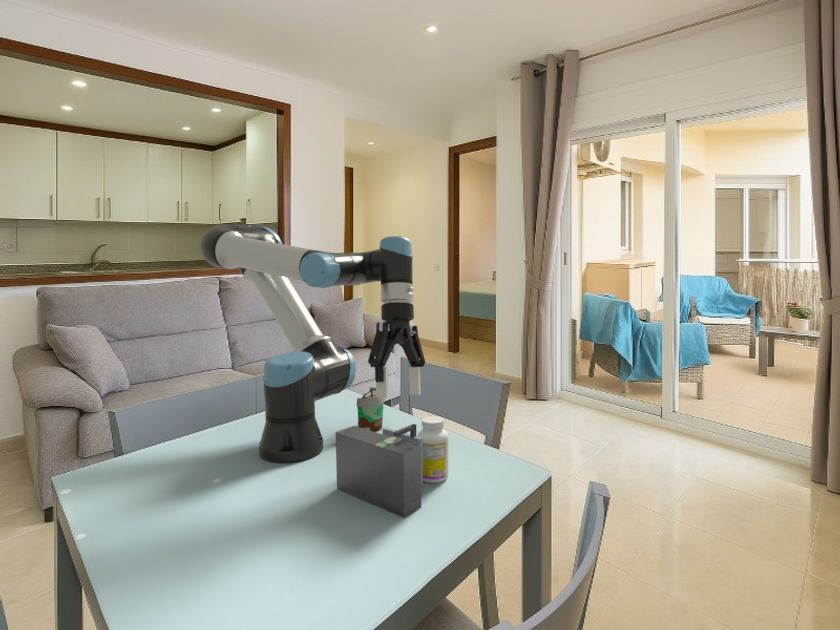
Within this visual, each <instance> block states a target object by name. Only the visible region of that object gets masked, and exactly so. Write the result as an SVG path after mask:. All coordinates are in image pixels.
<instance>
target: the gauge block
mask: <svg viewBox="0 0 840 630" xmlns="http://www.w3.org/2000/svg"><path fill="white" fill-rule="evenodd" d="M335 461H336V465H335V466H336V468H335V469H336V490H338V491H340V492H343V493H345V494H347V495H350V496H352V497H355V498H357V499H359V500H361V501H363V502H367V503H369V504H371V505H373V506H376V507H378V508H380V509H383V510H385V511H386V512H390V513H392V514H394V515H397V516H399V517H402V518H406V517H407V516H410V515H411V514H412V513H414V512H416V511H417V510H419V509H420V508H422V486H421V446H420V445H416V444H413V443H410V442H406V441H403V440H401V439H400V438H396V437H390V436H386V435H383V433H379V432H373V431H370V430H366V429H363V428H360V427H358V426H356V425H352V426H349V427H346V428H343V429H341V430H338V431H336V432H335Z"/></svg>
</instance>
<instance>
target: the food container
mask: <svg viewBox="0 0 840 630" xmlns="http://www.w3.org/2000/svg"><path fill="white" fill-rule="evenodd" d="M386 400H387V398H376V387H373V386H369V390H368V392H366V393H364V394H363V395H362V397H356V407H357V424H358V426H357V427H360V428H363V429H366V430H370V431H373V432H376V433H378V432H379V431H381V430H383V418H384V404H385V402H386Z"/></svg>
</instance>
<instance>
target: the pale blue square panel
mask: <svg viewBox="0 0 840 630" xmlns="http://www.w3.org/2000/svg"><path fill="white" fill-rule="evenodd" d="M382 434H383V435H386V436H390V437H396V438H400V439H401V440H403V441H406V442H410V443H413V444H416V445H420V446H421V487H423V486H424V481H423V438H421V437H418V436H417V424H415V423H412V424H410V425H407V426H405V427H402V428H400V429H393V428H389V427H384V428H383V427H382Z"/></svg>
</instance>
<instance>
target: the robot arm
mask: <svg viewBox="0 0 840 630" xmlns="http://www.w3.org/2000/svg"><path fill="white" fill-rule="evenodd" d="M199 250H200V254H201V256H202V257H203V259H204V260H205V262H207V263H208V264H210V265H211V266H213V267H216V268H220V269H227V270H235V269H239V271H240V272H241V274H242V276H243V277H244V279H245V280H246V281H249V282H252V283H254V285H255V287H256V288H257V289H258V292H259V293H260V296H262V298H263V300H264V302H265V303H266V305H267V307H268V308H269V310H270V312H271V314H272V315H273V317H274V318H275V320H276V321H277V324H278V326H279V327H280V328H281V330H282V332H283V334H284V335H285V337H286V339H287V340H288V342H289V344H290V346H291V347H292V349H293V351H290V352H283V353H280V354H278V355H274V356H272V357H270V358H269V359H268V360H267V361H266V362H265V363H264V366H263V377H262V381H263V392H264V411H265V424H264V427H263V431H262V434H261V439H260V441H259V443H258V449H259V450H258V451H259V452H258V453H259V456H260V458H262V459H263V460H265V461H268V462H274V463H294V462H300V461H305V460H309V459H311V458H314V457H316V456H317V455H319V454H320V453H322V451H323V450H324V438H323V435H322V433H321V430H320V427H319V425H318V422H317V418H316V402H317V401H319V400H323V399H324V398H327V397H330V396H334V395H338V394H339V393H341V392H342V391H345V390H346V389H349V387H351V385H352V384H353V382H354V380H355V378H356V372H357V364H356V360H355V357H354V356H353V354H352V353H351V351H350V350H348V349H347V348H344V347H341V346H337V345H336V343H335V340H333V338H332V337H331V336H329V335H324V334H323V332H322V331H321V329H320V328H319V326H318V324H317V322H316V320H315V319H314V317H313V316H312V315H311V313H310V311H309V309H308V308H307V306H306V305H305V303H304V301H303V300H302V298H301V297H300V295H299V294H298V292H297V290H296V289H295V286H294V285H293V283H292V282H291V280H290V279H293V280H296V281H301V282H304V283H305V284H306V285H307V286H308V287H312V288H320V289H321V288H322V289H323V288H324V289H325V288H329V287H337V286H360V285H363V284H369V283H376V282H380V302H381V303H382V304H381V306H380V310H381V311H380V314H381V316H380V317H381V321H380V322H379V321H378V322H376V325H375V326H376V328H375V329H376V330H375V334H374V338H373V342H372V344H371V349H370V352H369V356H368V359H367V363H368V364H369V366H370V367H371V368H374V380H375V388H376V398H386V399H387V398H389V368H388V366H386V365H387V363H388V360H389V358H390V356H391V354H392V352H393V349H394V348H395V345H398V346H400V347H402V349H403V353H404V355H405V356H406V358H407V361H408V363H409V365H410V367H408V389H409V390H408V394H409V395H410V396H415V395H416V396H417V395H418V396H420V395H421V394H422V393H421V392H422V391H421V389H422V388H421V367H425V364H426V359H425V355H424V351H423V348H422V345H421V341H420V337H419V332H418V330H419V329H418V326H417V325H410V321H413V320H414V318H415V316H414V315H415V314H414V313H415V311H414V309H415V308H414V305H413V303H412V302H414V285H413V284H414V283H413V258H414V256H413V248H412V242H411V240H410V239H409V238H407V237H404V236H398V235H390V236H386V237H384V238H382V239H380V243H379V246H378V248H377V249H375V250H374V249H373V250H370V251H364V252H328V251H322V250H316V249H311V248H305V247H300V246H299V247H298V246H294V245H289V244H284V243H283V242H282V239H281V238H280V236H279V235H278V234H277V233H276V232H275V230H273V229H271V228H269V227H264V226H261V225H237V224H218V225H213V226H211V227H210V228H208V229H207V230H206V231H205V232H204V233H203V234H202V236H201V238H200V242H199Z"/></svg>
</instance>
